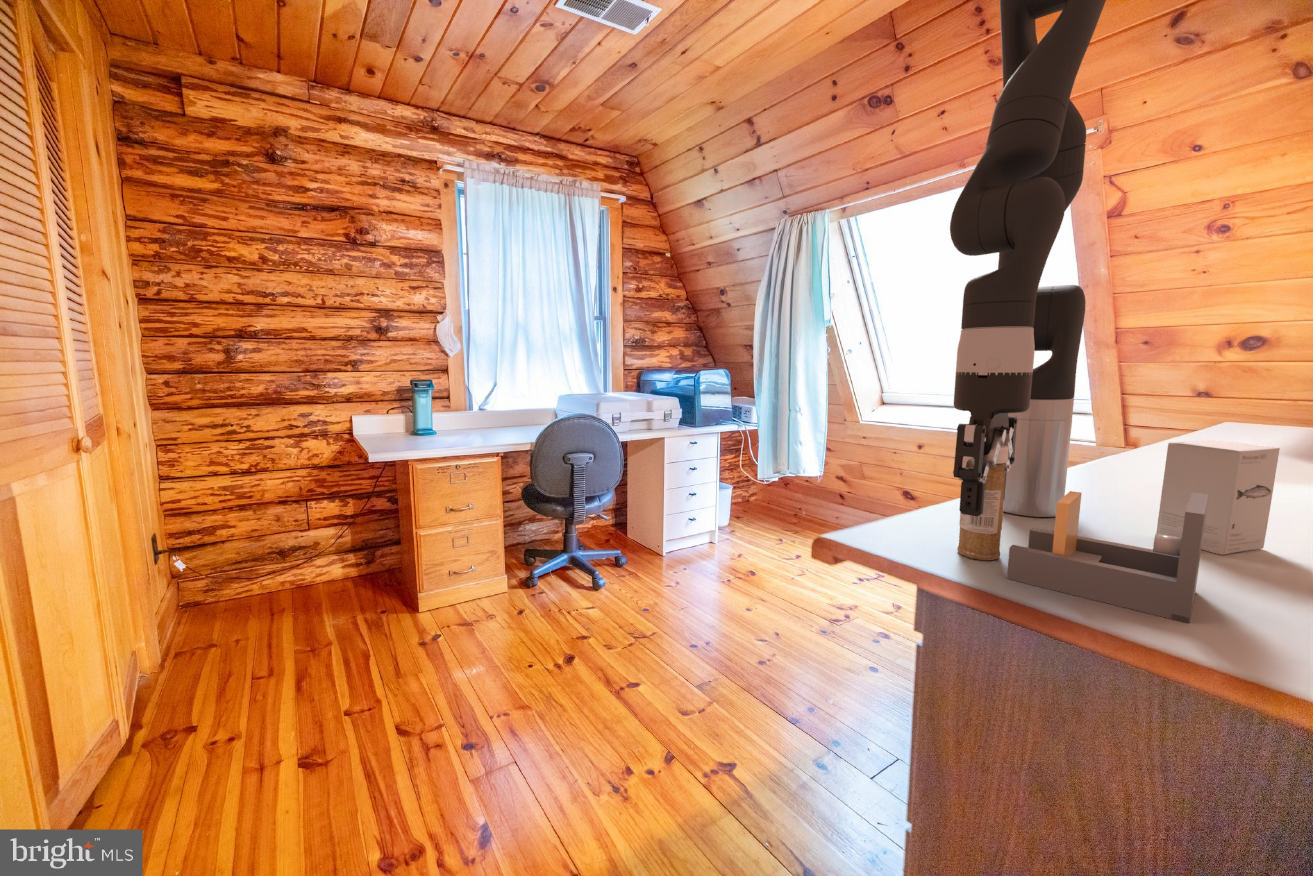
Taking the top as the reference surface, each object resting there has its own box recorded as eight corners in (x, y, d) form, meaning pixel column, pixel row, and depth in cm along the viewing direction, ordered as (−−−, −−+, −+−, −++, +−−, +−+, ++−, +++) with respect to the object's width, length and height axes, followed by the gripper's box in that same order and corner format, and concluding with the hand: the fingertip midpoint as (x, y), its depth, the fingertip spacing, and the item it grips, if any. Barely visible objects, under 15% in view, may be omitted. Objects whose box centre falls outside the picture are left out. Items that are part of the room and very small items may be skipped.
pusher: (1063, 560, 62) (1070, 491, 61) (1101, 568, 60) (1109, 496, 59) (1049, 576, 58) (1057, 502, 57) (1090, 586, 55) (1099, 508, 54)
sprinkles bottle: (1004, 554, 66) (1013, 444, 64) (993, 564, 63) (1002, 449, 61) (963, 545, 70) (970, 440, 68) (950, 554, 67) (958, 444, 65)
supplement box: (1224, 556, 65) (1239, 450, 63) (1153, 537, 72) (1165, 441, 70) (1267, 550, 67) (1283, 446, 65) (1193, 531, 74) (1206, 438, 72)
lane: (1029, 555, 66) (1037, 473, 64) (1195, 591, 56) (1208, 494, 54) (1006, 578, 59) (1014, 487, 58) (1189, 623, 49) (1204, 514, 48)
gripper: (976, 368, 71) (967, 492, 73) (935, 369, 61) (926, 513, 63) (1047, 368, 65) (1034, 502, 68) (1014, 370, 55) (1001, 527, 58)
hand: (982, 507), depth 65 cm, fingers open, 8 cm apart
